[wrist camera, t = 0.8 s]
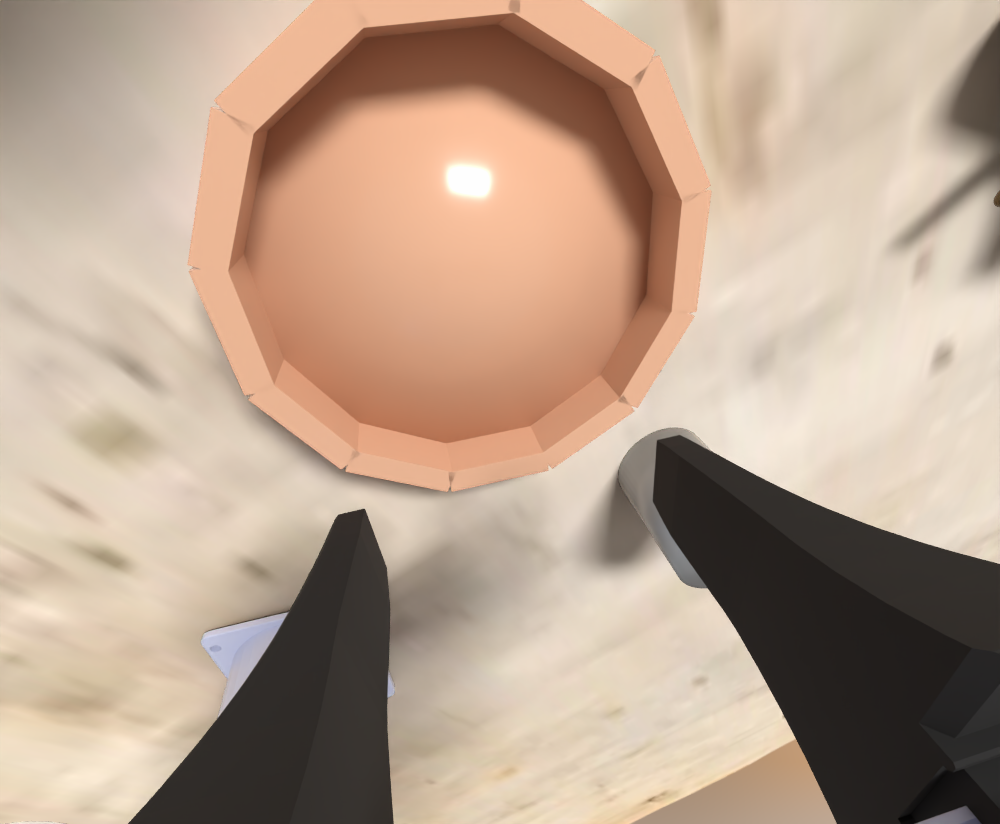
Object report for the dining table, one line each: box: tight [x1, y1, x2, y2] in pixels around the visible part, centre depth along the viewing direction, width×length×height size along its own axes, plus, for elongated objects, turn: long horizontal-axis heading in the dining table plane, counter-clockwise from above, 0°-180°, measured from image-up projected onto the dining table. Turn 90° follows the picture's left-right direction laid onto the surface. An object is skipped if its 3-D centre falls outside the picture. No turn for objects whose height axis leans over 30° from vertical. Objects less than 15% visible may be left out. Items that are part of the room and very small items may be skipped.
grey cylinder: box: [618, 428, 711, 588], centre depth 23 cm, size 5×5×6 cm
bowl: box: [188, 0, 711, 492], centre depth 17 cm, size 16×16×3 cm
